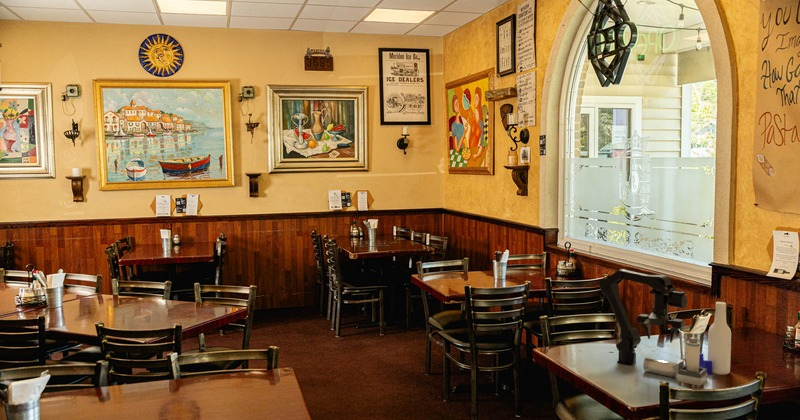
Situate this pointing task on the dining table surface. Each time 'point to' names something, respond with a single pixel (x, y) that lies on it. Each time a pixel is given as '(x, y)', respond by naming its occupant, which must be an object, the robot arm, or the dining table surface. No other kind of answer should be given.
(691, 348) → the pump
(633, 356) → the robot arm
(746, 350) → the dining table surface
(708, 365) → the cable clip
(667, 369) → the grey cylinder with box
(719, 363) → the alcohol
